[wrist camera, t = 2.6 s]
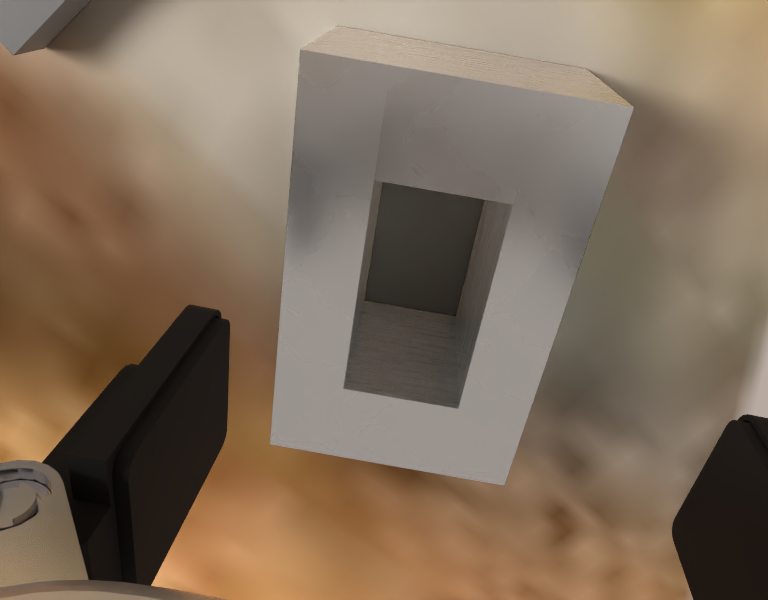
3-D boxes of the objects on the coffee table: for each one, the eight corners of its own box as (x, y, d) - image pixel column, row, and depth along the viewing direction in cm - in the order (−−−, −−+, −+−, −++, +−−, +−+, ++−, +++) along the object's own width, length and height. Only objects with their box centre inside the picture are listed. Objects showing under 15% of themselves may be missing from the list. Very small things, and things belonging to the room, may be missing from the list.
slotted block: (493, 383, 23) (504, 485, 18) (303, 350, 23) (269, 444, 18) (586, 68, 17) (634, 107, 13) (337, 25, 17) (300, 49, 13)
